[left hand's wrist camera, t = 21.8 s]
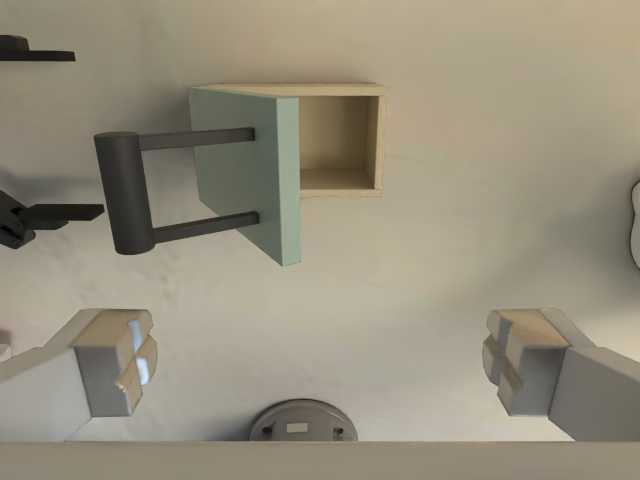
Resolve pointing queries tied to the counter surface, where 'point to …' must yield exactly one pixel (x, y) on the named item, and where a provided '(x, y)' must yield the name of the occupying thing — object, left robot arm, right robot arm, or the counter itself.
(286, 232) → the lid
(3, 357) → the toy
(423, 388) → the counter surface
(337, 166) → the chest
